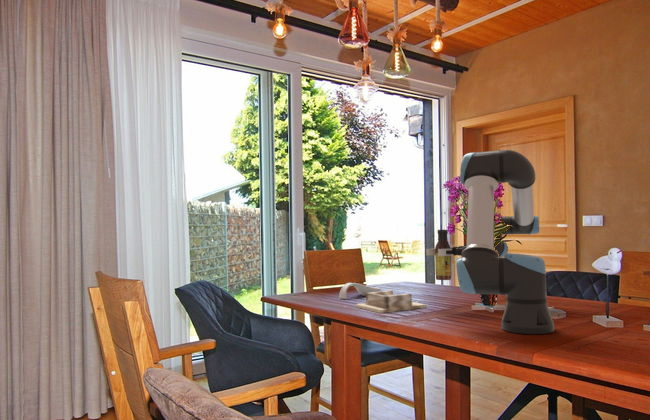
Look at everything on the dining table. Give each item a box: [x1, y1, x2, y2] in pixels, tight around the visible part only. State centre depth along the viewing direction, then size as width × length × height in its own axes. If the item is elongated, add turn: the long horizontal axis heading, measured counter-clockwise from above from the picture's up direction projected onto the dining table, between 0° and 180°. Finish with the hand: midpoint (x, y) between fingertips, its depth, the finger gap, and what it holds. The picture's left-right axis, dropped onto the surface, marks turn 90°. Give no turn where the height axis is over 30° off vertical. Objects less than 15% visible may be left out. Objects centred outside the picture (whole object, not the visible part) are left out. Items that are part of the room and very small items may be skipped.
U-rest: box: [355, 289, 427, 314], centre depth 201 cm, size 22×18×6 cm
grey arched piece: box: [338, 282, 381, 300], centre depth 235 cm, size 24×12×7 cm, turn 132°
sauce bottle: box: [434, 229, 453, 281], centre depth 195 cm, size 6×6×20 cm
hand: (432, 252), depth 193 cm, fingers closed on sauce bottle, 6 cm apart
